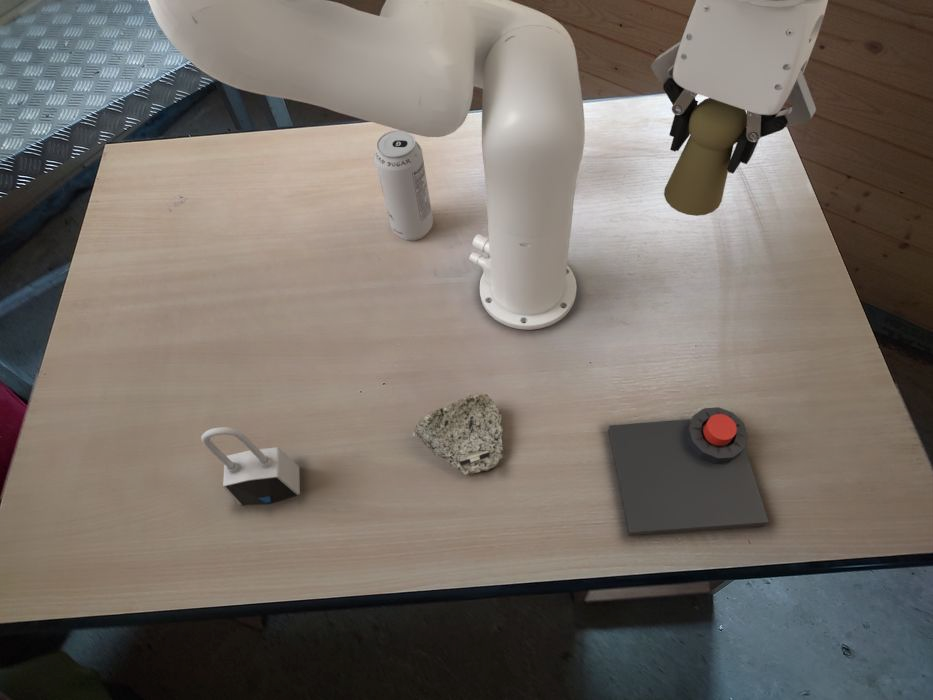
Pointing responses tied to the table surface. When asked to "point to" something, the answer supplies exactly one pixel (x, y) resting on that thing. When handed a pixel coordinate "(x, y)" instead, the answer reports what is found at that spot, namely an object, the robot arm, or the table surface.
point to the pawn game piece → (705, 158)
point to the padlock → (255, 471)
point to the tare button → (719, 430)
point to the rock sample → (465, 434)
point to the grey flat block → (684, 477)
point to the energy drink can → (404, 184)
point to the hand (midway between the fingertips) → (707, 152)
